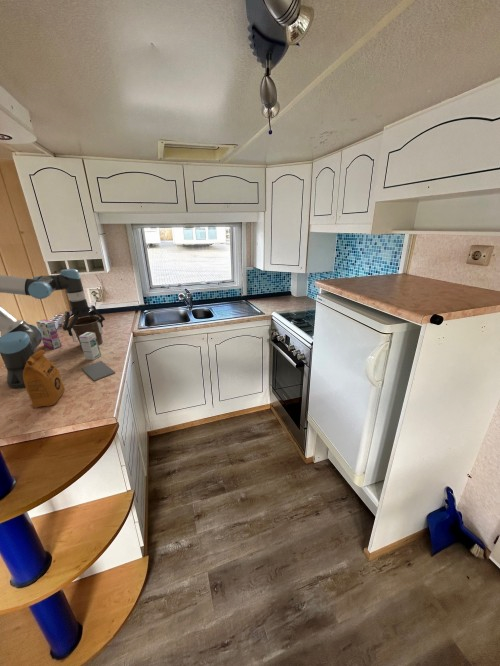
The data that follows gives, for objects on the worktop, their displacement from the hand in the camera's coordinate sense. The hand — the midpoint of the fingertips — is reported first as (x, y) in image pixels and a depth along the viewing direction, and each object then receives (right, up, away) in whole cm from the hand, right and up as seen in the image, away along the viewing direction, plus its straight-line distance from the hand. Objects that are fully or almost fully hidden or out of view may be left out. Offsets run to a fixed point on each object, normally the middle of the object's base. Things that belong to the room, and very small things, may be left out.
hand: (88, 337), depth 147 cm
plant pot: (-11, -5, +21) cm, 25 cm away
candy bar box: (-34, -6, +20) cm, 40 cm away
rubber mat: (+10, -17, -9) cm, 22 cm away
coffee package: (+2, -27, -31) cm, 41 cm away
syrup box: (0, -12, +5) cm, 13 cm away
